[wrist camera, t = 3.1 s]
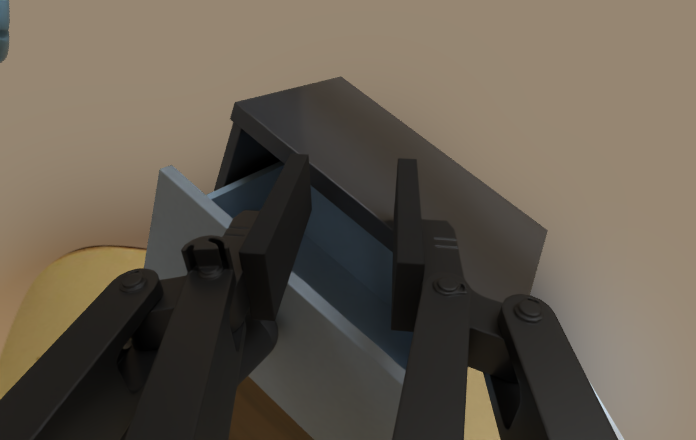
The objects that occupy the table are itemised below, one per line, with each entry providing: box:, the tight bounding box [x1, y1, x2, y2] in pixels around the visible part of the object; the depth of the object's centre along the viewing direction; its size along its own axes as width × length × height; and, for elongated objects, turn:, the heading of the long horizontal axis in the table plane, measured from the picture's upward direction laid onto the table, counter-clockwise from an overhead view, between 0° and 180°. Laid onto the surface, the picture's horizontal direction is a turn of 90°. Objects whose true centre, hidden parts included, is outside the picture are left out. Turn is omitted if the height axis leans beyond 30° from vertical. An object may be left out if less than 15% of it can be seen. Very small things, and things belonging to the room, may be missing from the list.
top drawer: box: [120, 161, 413, 440], centre depth 17 cm, size 20×14×7 cm
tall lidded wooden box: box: [214, 77, 547, 440], centre depth 31 cm, size 10×16×33 cm, turn 57°
